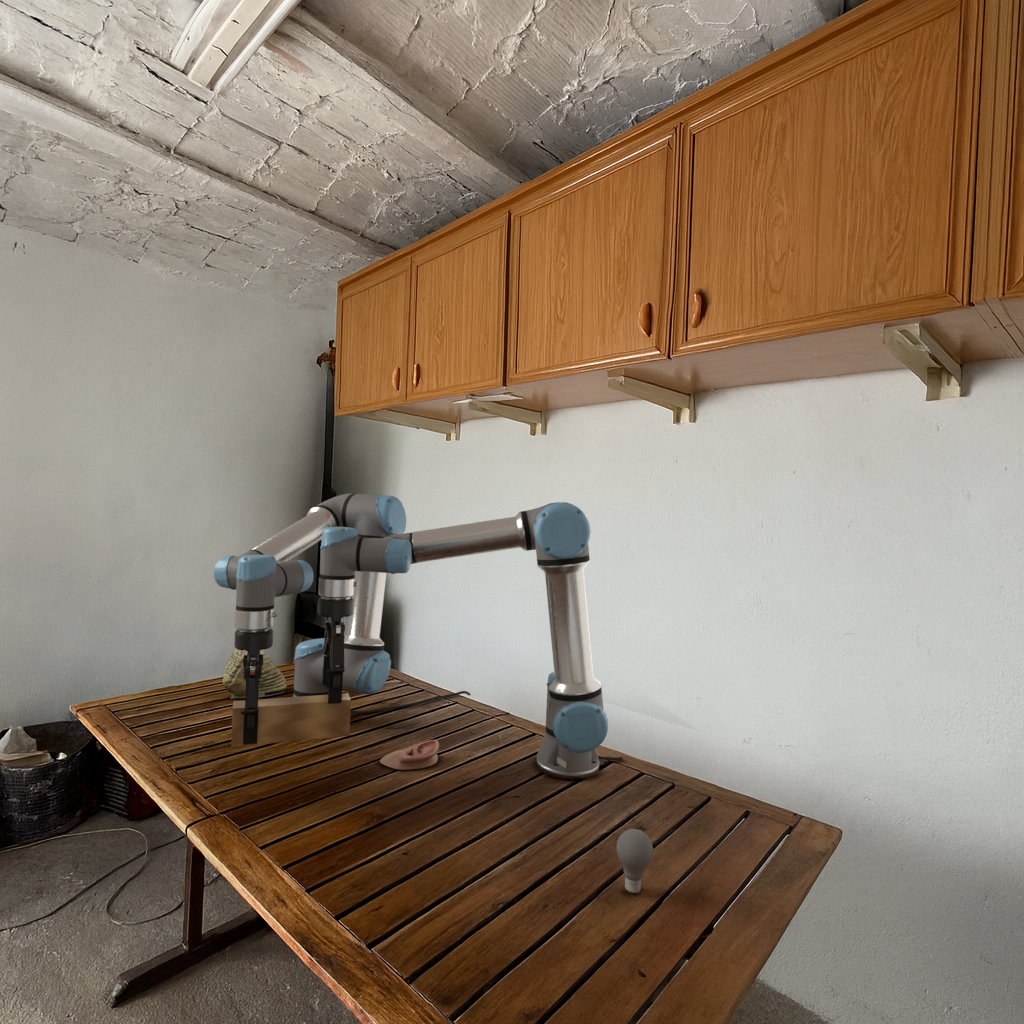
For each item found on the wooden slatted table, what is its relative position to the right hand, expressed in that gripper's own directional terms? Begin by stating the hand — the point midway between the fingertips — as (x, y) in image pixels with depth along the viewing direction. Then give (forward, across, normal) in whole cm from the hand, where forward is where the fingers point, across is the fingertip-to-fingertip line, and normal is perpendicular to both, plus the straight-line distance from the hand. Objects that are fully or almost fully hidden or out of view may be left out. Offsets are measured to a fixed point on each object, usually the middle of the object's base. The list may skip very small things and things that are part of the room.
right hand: (331, 693), depth 139 cm
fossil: (+21, +69, +16) cm, 74 cm away
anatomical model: (+20, +7, -20) cm, 29 cm away
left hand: (+8, 0, +16) cm, 18 cm away
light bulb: (+20, -54, -44) cm, 73 cm away
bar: (+9, 0, +8) cm, 12 cm away
